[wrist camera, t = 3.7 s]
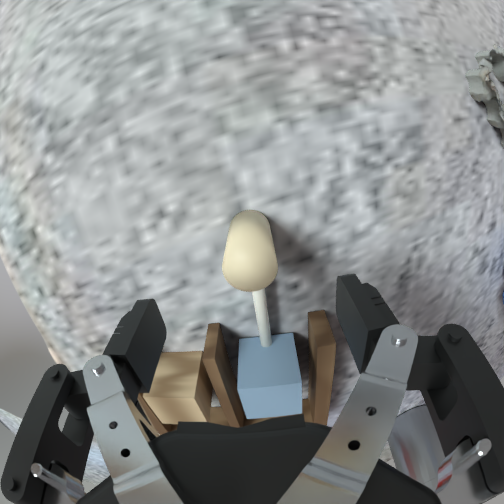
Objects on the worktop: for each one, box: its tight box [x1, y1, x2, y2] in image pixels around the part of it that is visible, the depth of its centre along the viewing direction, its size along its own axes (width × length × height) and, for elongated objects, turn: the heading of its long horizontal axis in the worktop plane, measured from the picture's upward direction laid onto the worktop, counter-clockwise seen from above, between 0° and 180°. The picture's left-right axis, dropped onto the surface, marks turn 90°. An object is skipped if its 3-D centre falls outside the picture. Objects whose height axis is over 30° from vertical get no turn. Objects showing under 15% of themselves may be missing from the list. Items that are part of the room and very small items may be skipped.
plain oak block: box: [143, 351, 213, 424], centre depth 24 cm, size 5×5×6 cm
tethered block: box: [222, 210, 302, 419], centre depth 21 cm, size 5×17×6 cm, turn 8°
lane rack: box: [138, 310, 336, 435], centre depth 26 cm, size 20×16×4 cm
